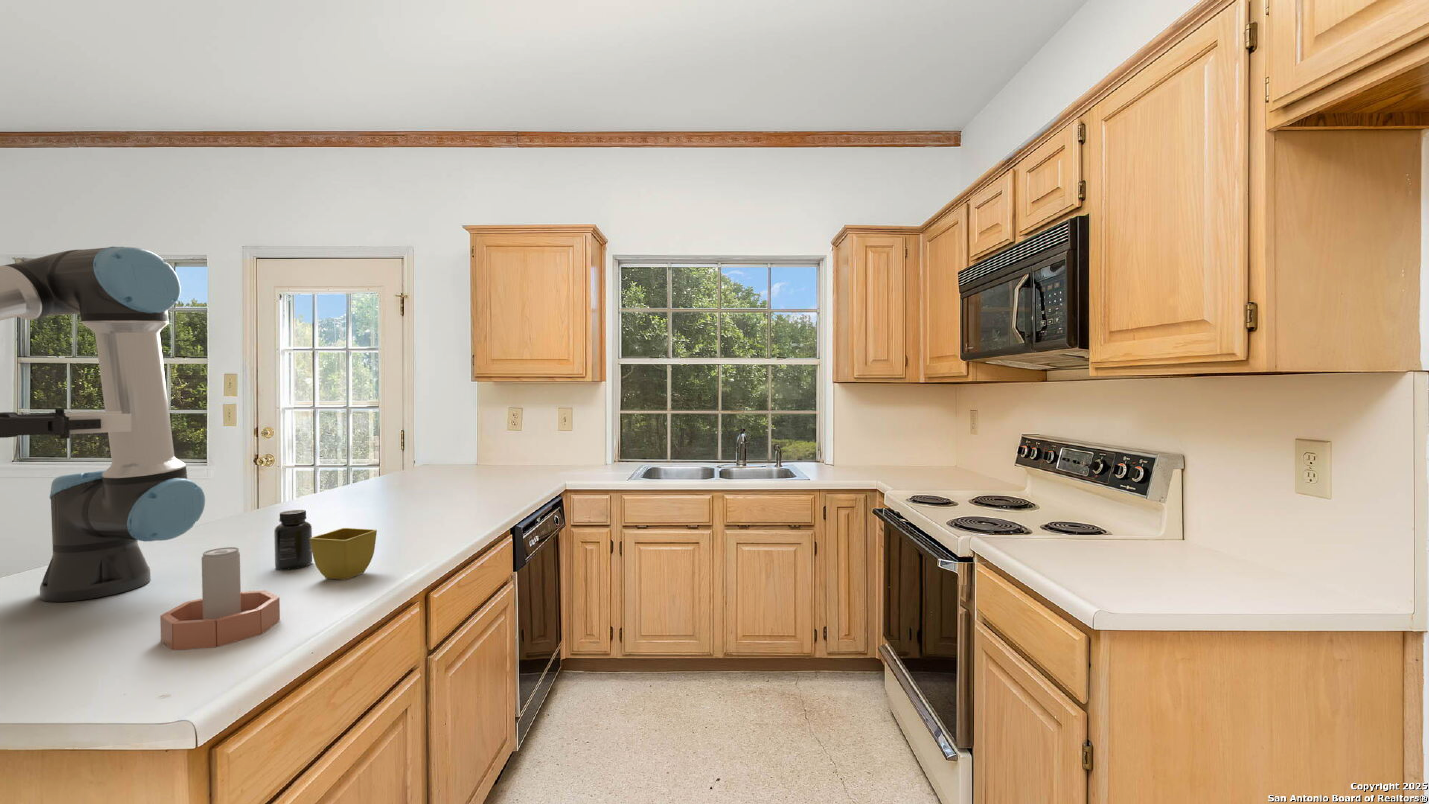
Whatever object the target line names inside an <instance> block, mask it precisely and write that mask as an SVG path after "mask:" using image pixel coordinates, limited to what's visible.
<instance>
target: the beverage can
mask: <svg viewBox="0 0 1429 804" xmlns="http://www.w3.org/2000/svg"><path fill="white" fill-rule="evenodd" d="M239 550H240V548H238V547H235V546H234V547H233V546H231V547H229V546H227V547H219V548H213V549H208V550H206V551H204V552H202V556H201V583H202V584H201V587H202V591H201V592H202V595H201V596H202V597H201V599H202V598H203V620H205V619H218V618H222V617H226V616H230V615H234V614H238V613H241V592H242V590H241V585H242V584H241V553H240V551H239Z"/></svg>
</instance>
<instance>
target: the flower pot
mask: <svg viewBox="0 0 1429 804" xmlns="http://www.w3.org/2000/svg"><path fill="white" fill-rule="evenodd" d="M377 532H378V530H377V529H369V528H368V529H367V528H352V527H341V528H339V529H336V530H332V531H329V532H325V533H322V534H318V535H314V536H312V538H310V543H311V548H312V559H313V562H314V564H315V566H316V568H317V570H318V572H320V574H321V575H322V576H323V577H324V578H325V579H331V580H344V581H346V580H349V579H351V578H354V577H357V576H358V575H361V574H363V573H365V572H366V570H367V569H368V567H369V565H370V563H371V562H372V560H373V557H374V554H375V548H376V541H377Z"/></svg>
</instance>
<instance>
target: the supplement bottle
mask: <svg viewBox="0 0 1429 804" xmlns="http://www.w3.org/2000/svg"><path fill="white" fill-rule="evenodd" d="M278 521H279V522H280V524H278V525H277V526H276V527H275V528H274V531H273V532H274V535H273V536H274V538H273V539H274V541H273V542H274V567H275V569H278V570H280V569H282V570H286V569H288V570H295V568H296V569H301V568H305V567H307V566H310V565H312V562H313V553H312V548H311V543H310V538H312V537H313V530H312V529H313V527H312V524H311V523H309V522H308V521H307V511H306V510H305V509H294V510H293V509H291V510H286V511H281V512H280V513H279V519H278Z"/></svg>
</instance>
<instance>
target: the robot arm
mask: <svg viewBox="0 0 1429 804" xmlns="http://www.w3.org/2000/svg"><path fill="white" fill-rule="evenodd" d="M180 282H181V281H180V279H179V277H178V275H177V272H176V271H175V270H174V268H173V267H172V266H171V264H170V263H168V262H166V261H165V260H164V259H163V258H162V257H161V256H160V255H158V254H156V253H154V252H152V251H150V250H148V249H147V250H146V249H145V248H144V249H143V248H141V247H131V246H109V247H98V248H87V249H72V250H71V249H70V250H65V251H60V252H55V253H52V254H48V255H45V256H44V255H43V256H41V257H36V258H31V259H27V260H23V261H20V262H19V261H18V262H14V263H9V264H4V265H3V264H2V265H0V321H3V320H4V321H5V320H9V319H13V318H17V317H18V318H19V319H22V320H28V321H29V320H30V321H33V320H37V319H41V318H46V317H50V316H60V315H63V316H64V315H79V316H80V322H81V324H82V325H84V326H85V327H86V328H88V329H89V330H90V331H92V332H93V333H94V336H95V343H96V352H97V358H98V366H99V374H100V382H101V389H102V395H103V396H102V398H103V405H104V411H76V412H75V411H74V412H73V411H72V412H71V411H69V412H65V408H55V409H54V410H55V411H54V412H49V413H24V414H22V413H21V414H20V413H19V414H18V412H16V411H15V412H14V411H13V412H11V411H9V412H8V411H7V412H6V411H4V412H0V439H1V438H3V439H4V438H6V439H7V438H16V437H18V436H47V435H52V436H53V435H54V436H60V437H59V439H60V440H64V439H71V435H72V434H73V435H76V434H78V435H81V434H100V433H108V434H107V435H108V442H109V450H110V455H111V457H110V459H111V464H110V466H109V467H107V469H105V470H96V471H90V472H82V473H81V472H80V473H73V474H72V473H71V474H65V475H64V474H63V475H60V476H57V477H55V478H54V479H53V480H52V482H51V487H50V493H49V500H50V508H51V510H50V512H51V514H50V515H51V536H52V537H51V542H52V556H51V559H50V562H49V564H48V567H47V568H46V571H45V574H44V576H43V579H42V581H41V583H40V586H39V599H40V600H41V601H44V602H55V603H56V602H58V603H61V602H75V601H84V600H85V601H86V600H90V599H97V598H102V597H103V598H104V597H107V596H112V595H116V594H121V593H124V592H128V591H132V590H135V589H137V588H140V587H142V586H145V585H146V584H148V583H150V582H151V569H150V566H149V564H148V563H147V560H146V558H145V555H144V553H143V552H142V550H141V548H140V546H139V543H138V541H141V542H156V541H157V542H160V541H161V542H163V541H169V540H172V539H175V538H178V537H180V536H182V535H184V534H186V533H187V532H188V531H189V530H191V529H192V528H193V527H194V525H195V524H196V522H198V521H199V520H200V518H201V516H202V514H203V512H204V510H205V506H206V496H205V492H204V491H203V488H202V487H201V486H200V485H198V484H197V483H196V482H195V481H193V480H190V479H188V473H187V465H186V462H184V461H181V460H180V459H179V458H177V457H176V456H175V450H174V449H175V448H174V442H173V434H172V426H171V425H172V424H171V418H170V417H171V416H170V409H169V401H168V393H167V392H168V391H167V383H166V377H165V376H166V375H165V368H164V367H165V366H164V359H163V352H162V344H161V334H160V333H161V331H162V330H163V329H164V328H166V327H167V326H168V325H169V323H170V321H169V320H170V319H169V312H168V311H169V310H170V309H171V308H173V307H174V306H175V303H176V302H178V301H179V299H180V296H181V289H182V288H181V283H180Z"/></svg>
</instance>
